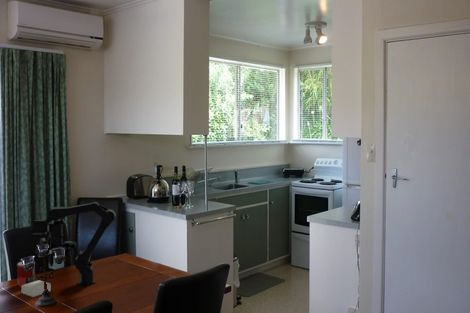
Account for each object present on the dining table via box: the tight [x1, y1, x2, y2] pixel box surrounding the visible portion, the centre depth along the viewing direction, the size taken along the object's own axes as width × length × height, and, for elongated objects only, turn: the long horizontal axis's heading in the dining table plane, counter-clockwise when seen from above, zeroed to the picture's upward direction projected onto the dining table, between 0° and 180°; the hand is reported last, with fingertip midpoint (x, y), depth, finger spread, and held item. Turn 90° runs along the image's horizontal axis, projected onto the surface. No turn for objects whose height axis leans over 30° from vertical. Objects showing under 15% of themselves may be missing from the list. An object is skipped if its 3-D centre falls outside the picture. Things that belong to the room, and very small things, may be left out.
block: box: [48, 255, 65, 270], centre depth 224 cm, size 5×5×5 cm
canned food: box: [16, 261, 36, 288], centre depth 225 cm, size 8×8×11 cm
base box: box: [20, 279, 52, 298], centre depth 215 cm, size 9×9×4 cm
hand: (56, 265), depth 224 cm, fingers closed on block, 5 cm apart
